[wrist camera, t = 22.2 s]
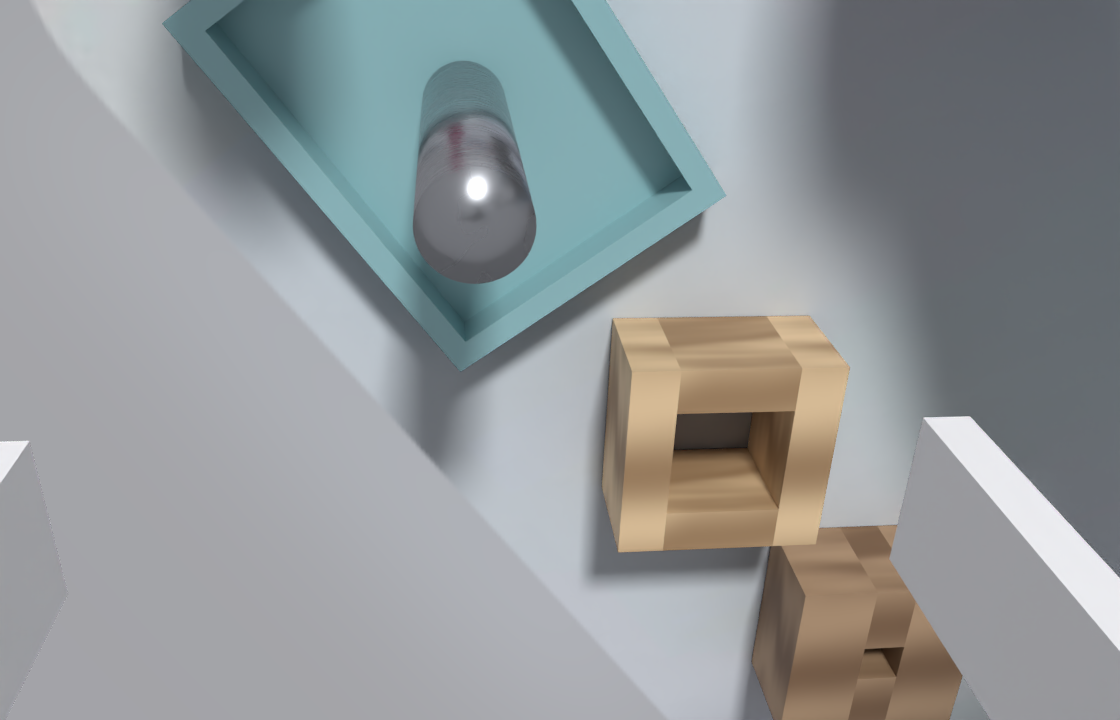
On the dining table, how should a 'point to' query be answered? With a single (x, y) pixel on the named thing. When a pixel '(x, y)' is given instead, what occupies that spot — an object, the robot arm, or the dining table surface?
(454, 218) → the cylinder
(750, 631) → the dining table surface
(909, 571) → the robot arm
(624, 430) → the oak block wide bore
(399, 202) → the teal tray
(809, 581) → the walnut block narrow bore
